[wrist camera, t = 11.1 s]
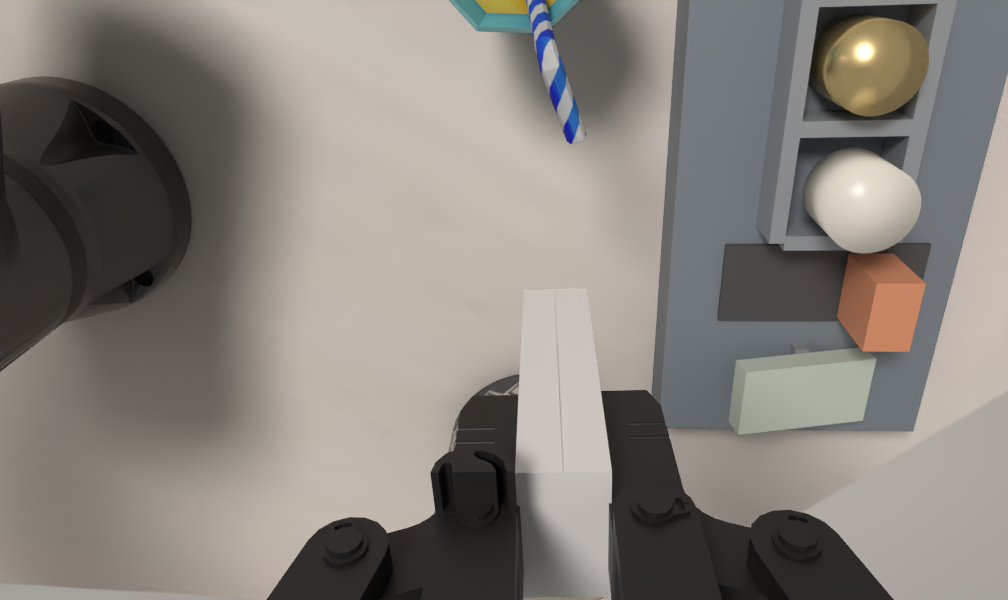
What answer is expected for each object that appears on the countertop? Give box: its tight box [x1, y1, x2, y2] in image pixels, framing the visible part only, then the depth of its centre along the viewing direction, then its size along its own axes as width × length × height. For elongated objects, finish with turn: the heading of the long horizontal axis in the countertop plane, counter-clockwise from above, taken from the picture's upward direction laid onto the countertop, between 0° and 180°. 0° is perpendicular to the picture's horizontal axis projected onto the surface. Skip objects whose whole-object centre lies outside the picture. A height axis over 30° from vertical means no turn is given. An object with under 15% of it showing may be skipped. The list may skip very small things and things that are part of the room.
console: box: [652, 0, 1008, 431], centre depth 41 cm, size 16×28×7 cm, turn 2°
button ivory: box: [803, 148, 921, 254], centre depth 35 cm, size 4×4×4 cm
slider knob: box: [837, 254, 926, 352], centre depth 39 cm, size 2×4×4 cm, turn 2°
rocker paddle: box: [728, 347, 876, 435], centre depth 43 cm, size 8×4×1 cm, turn 92°
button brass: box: [809, 14, 929, 116], centre depth 34 cm, size 4×4×4 cm
